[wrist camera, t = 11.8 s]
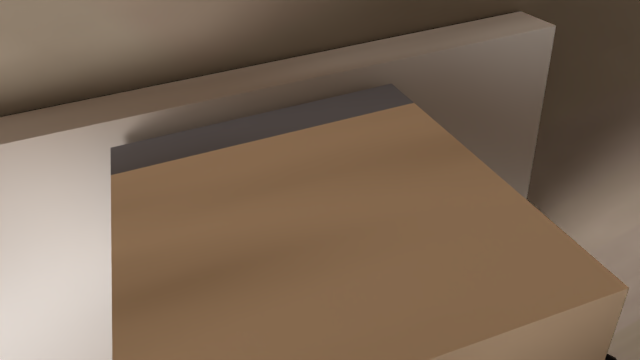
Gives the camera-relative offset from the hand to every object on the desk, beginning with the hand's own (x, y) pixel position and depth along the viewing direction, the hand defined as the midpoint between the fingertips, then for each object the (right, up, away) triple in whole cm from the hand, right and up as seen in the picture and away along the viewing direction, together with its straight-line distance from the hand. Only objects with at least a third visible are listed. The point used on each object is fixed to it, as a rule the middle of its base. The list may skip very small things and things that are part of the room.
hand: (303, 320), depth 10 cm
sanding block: (0, +1, +1) cm, 1 cm away
